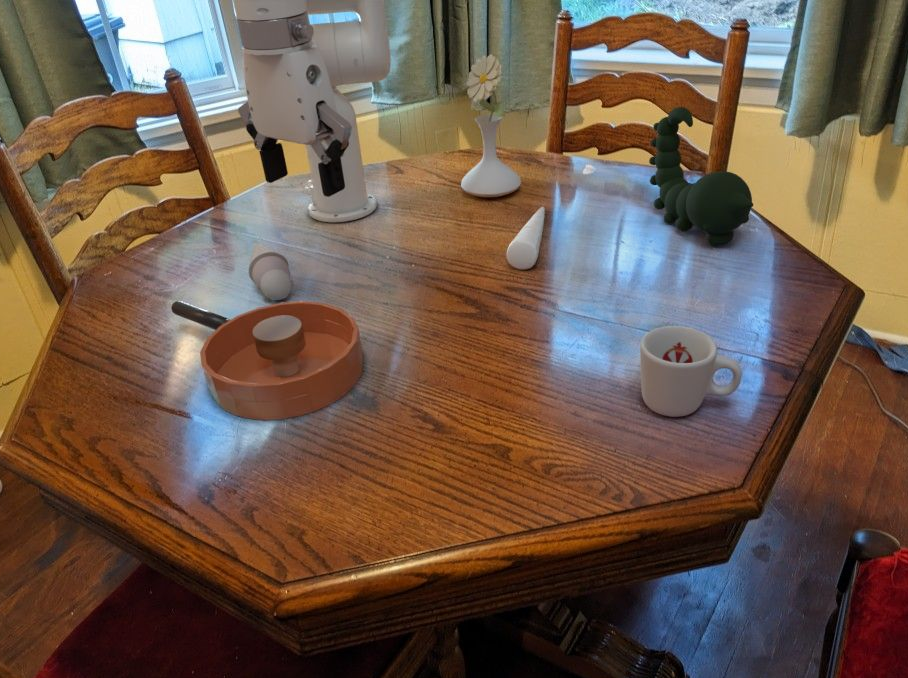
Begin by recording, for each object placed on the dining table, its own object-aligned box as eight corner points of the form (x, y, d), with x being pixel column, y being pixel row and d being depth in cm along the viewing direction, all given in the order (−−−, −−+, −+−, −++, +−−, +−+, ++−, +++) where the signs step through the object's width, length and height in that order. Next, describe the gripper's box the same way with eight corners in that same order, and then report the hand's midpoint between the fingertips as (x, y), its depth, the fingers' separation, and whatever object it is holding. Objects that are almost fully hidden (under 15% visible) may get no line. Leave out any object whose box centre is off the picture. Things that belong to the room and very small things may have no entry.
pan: (179, 389, 91) (167, 356, 89) (288, 320, 104) (281, 289, 101) (287, 439, 82) (278, 404, 79) (393, 356, 94) (389, 323, 92)
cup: (735, 391, 84) (747, 332, 79) (732, 434, 78) (745, 373, 73) (639, 378, 87) (645, 320, 82) (630, 419, 81) (635, 359, 76)
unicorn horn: (564, 210, 129) (564, 184, 126) (536, 272, 111) (536, 243, 108) (538, 209, 130) (537, 183, 128) (505, 270, 112) (504, 241, 109)
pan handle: (170, 315, 101) (166, 303, 100) (182, 309, 102) (178, 297, 101) (228, 338, 95) (224, 325, 94) (240, 331, 96) (236, 318, 95)
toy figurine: (633, 218, 128) (718, 265, 108) (637, 106, 119) (731, 133, 98) (680, 209, 130) (773, 253, 110) (688, 98, 121) (790, 123, 100)
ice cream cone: (262, 263, 119) (287, 315, 110) (228, 250, 115) (251, 303, 106) (281, 232, 117) (308, 283, 108) (247, 218, 113) (272, 269, 103)
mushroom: (253, 375, 92) (241, 333, 89) (287, 352, 96) (277, 310, 92) (287, 389, 89) (276, 346, 86) (320, 365, 93) (311, 322, 89)
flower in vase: (455, 185, 143) (445, 48, 128) (511, 177, 144) (507, 40, 130) (472, 210, 132) (464, 63, 118) (532, 200, 134) (531, 55, 120)
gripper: (358, 30, 77) (379, 187, 87) (247, 21, 85) (278, 164, 95) (308, 47, 72) (336, 210, 82) (196, 35, 80) (234, 184, 90)
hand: (305, 185), depth 89 cm, fingers open, 9 cm apart
